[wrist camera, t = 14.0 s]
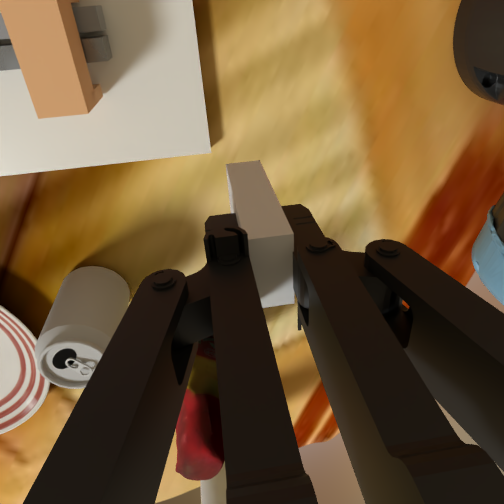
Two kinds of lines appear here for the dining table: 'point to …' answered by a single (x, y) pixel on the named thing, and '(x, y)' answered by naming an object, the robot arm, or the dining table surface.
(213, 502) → the travel mug
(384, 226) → the dining table surface
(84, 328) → the can
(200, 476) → the bottle
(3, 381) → the dinner plate
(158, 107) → the slider mechanism board
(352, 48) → the dining table surface
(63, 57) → the tan wooden block
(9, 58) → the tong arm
